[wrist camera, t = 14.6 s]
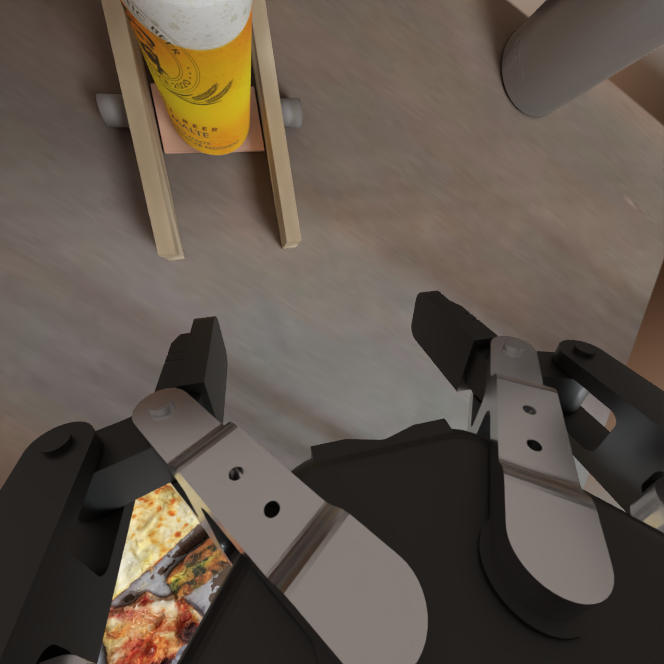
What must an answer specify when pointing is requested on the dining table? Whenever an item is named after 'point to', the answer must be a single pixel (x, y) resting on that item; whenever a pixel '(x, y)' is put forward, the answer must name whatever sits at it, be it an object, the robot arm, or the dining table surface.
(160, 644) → the food plate
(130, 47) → the wooden stick frame
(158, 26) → the beer can
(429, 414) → the dining table surface
